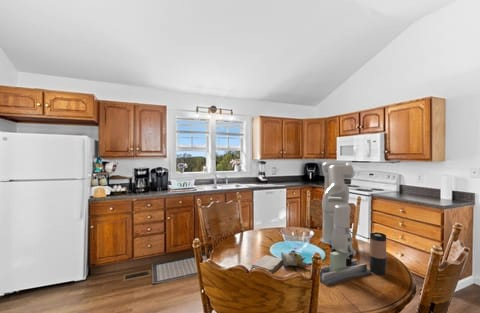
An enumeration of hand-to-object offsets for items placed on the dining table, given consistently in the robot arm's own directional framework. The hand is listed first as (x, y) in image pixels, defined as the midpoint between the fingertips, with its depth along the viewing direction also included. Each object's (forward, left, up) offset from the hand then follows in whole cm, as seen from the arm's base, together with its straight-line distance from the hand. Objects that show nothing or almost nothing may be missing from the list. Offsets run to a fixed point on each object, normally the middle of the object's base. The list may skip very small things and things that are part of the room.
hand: (341, 261), depth 126 cm
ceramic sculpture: (+16, -18, -7) cm, 25 cm away
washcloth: (+30, -24, -7) cm, 39 cm away
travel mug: (-20, +6, -6) cm, 22 cm away
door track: (0, 0, -6) cm, 6 cm away
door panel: (0, 0, -5) cm, 5 cm away
